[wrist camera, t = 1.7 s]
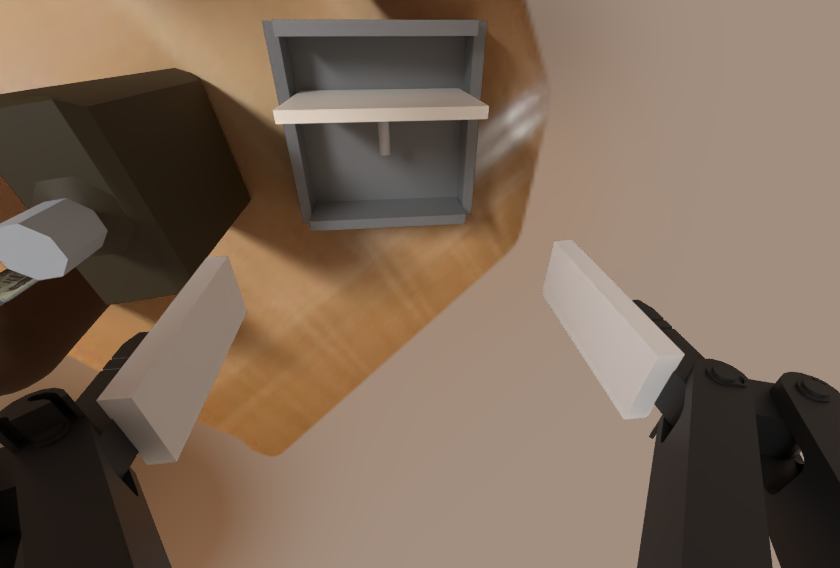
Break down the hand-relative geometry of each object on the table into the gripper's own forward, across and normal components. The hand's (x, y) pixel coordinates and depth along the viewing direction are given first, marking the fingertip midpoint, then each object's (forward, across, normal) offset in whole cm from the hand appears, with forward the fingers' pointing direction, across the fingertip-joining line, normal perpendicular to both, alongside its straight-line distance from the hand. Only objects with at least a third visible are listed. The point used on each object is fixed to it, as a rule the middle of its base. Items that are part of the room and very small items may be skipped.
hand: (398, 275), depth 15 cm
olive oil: (+34, -41, -18) cm, 56 cm away
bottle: (+34, -22, -3) cm, 40 cm away
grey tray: (+34, 0, 0) cm, 34 cm away
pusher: (+32, 0, +1) cm, 32 cm away
